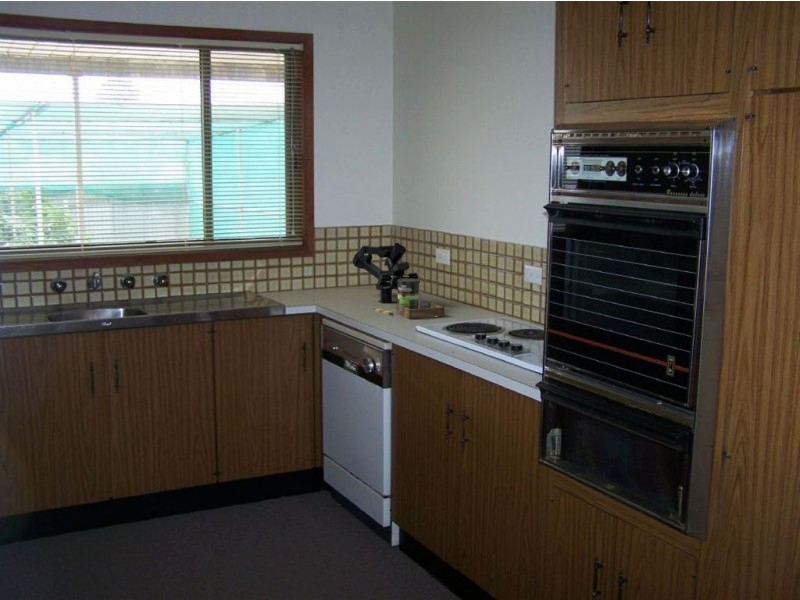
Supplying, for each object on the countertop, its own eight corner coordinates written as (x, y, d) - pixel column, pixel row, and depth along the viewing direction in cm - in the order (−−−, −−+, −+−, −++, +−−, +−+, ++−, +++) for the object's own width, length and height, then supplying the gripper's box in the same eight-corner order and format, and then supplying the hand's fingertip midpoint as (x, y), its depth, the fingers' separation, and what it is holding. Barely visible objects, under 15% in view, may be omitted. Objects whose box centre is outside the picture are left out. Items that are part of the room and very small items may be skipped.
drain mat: (416, 307, 426) (416, 306, 426) (434, 306, 429) (434, 305, 429) (424, 310, 418) (424, 309, 418) (442, 309, 421) (442, 308, 421)
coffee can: (413, 313, 411) (413, 281, 408) (393, 311, 416) (393, 280, 413) (424, 309, 420) (424, 279, 418) (404, 307, 424) (403, 277, 422)
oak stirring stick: (373, 311, 417) (373, 308, 417) (377, 311, 418) (377, 307, 418) (389, 316, 406) (389, 312, 405) (392, 315, 407) (392, 312, 406)
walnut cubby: (396, 313, 410) (396, 304, 409) (430, 311, 416) (430, 302, 415) (409, 319, 396) (409, 310, 395) (444, 316, 402) (444, 307, 401)
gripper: (379, 257, 422) (388, 284, 414) (416, 255, 429) (426, 281, 421) (373, 272, 431) (382, 298, 422) (410, 270, 438) (419, 296, 429)
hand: (402, 293), depth 423 cm, fingers closed
